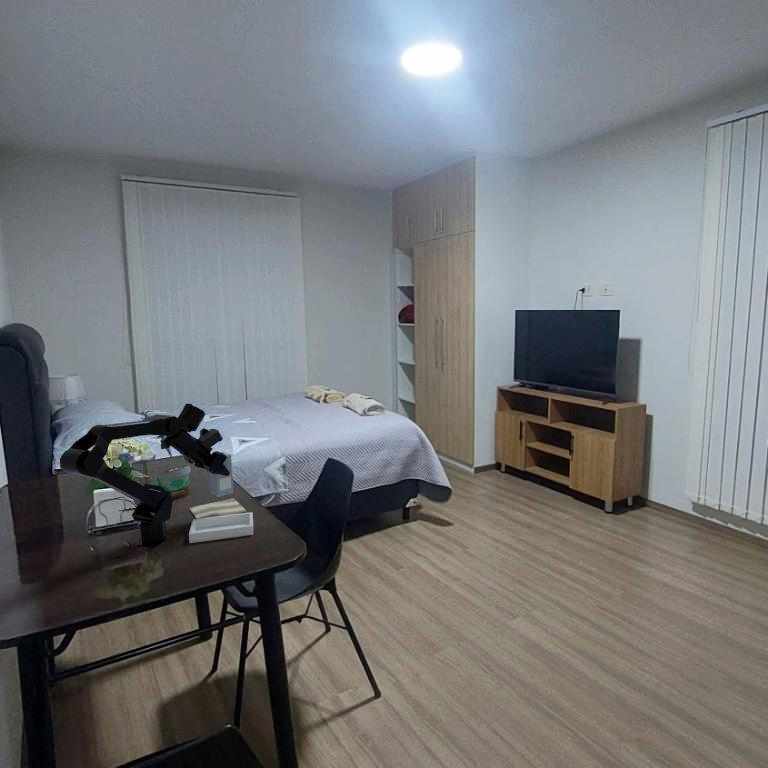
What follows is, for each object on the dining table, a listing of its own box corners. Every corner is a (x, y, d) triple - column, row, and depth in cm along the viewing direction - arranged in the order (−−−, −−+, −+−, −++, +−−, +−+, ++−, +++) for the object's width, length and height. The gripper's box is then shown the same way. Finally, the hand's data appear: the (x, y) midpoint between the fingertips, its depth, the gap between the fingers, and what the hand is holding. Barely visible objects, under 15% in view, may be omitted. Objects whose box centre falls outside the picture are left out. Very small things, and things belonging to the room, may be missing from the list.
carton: (218, 497, 156) (215, 458, 154) (210, 493, 160) (207, 455, 158) (233, 492, 159) (231, 454, 158) (226, 489, 163) (223, 451, 162)
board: (246, 513, 160) (246, 510, 160) (200, 525, 153) (199, 521, 153) (233, 501, 172) (233, 498, 172) (189, 510, 165) (189, 507, 165)
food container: (167, 504, 172) (164, 474, 170) (157, 500, 175) (154, 471, 174) (200, 493, 181) (197, 465, 180) (189, 490, 185) (187, 462, 184)
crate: (189, 544, 140) (188, 534, 140) (193, 529, 150) (193, 519, 150) (253, 536, 144) (252, 525, 143) (253, 521, 154) (252, 512, 154)
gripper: (218, 426, 147) (255, 456, 156) (191, 418, 161) (227, 446, 170) (193, 459, 143) (233, 488, 152) (167, 448, 157) (205, 475, 165)
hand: (224, 472), depth 160 cm, fingers closed on carton, 5 cm apart
